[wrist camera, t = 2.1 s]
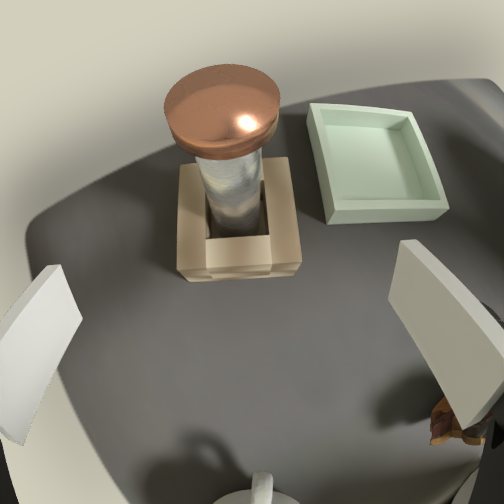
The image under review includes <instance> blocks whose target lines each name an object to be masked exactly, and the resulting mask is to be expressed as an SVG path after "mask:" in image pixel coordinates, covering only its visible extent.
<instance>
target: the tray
mask: <svg viewBox="0 0 504 504" xmlns="http://www.w3.org/2000/svg"><path fill="white" fill-rule="evenodd" d="M306 125H307V129H308V133H309V138H310V142H311V146H312V151H313V156H314V160H315V165H316V170H317V175H318V180H319V185H320V190H321V195H322V201H323V206H324V212H325V218H326V224H327V225H332V224H353V223H377V222H405V221H435V220H436V219H437V218H438V217H440V216H441V215H442V214H443V213H445V212H446V211H447V210H448V209H450V208H449V205H448V202H447V199H446V196H445V193H444V190H443V187H442V184H441V181H440V178H439V175H438V173H437V170H436V167H435V165H434V162H433V160H432V157H431V155H430V152H429V150H428V147H427V145H426V143H425V140H424V138H423V136H422V134H421V131H420V129H419V127H418V125H417V123H416V121H415V119H414V117H413V114H412V112H406V111H399V110H392V109H384V108H375V107H365V106H354V105H340V104H320V103H310V106H309V110H308V115H307V120H306Z"/></svg>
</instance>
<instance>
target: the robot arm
mask: <svg viewBox="0 0 504 504" xmlns="http://www.w3.org/2000/svg"><path fill="white" fill-rule="evenodd" d="M388 301H389V303H390V304H391V306H392V307H393V309H394V310H395V312H396V313H397V315H398V316H399V318H400V319H401V321H402V323H403V324H404V326H405V327H406V329H407V331H408V332H409V334H410V335H411V337H412V339H413V340H414V342H415V344H416V345H417V347H418V349H419V350H420V352H421V354H422V355H423V357H424V359H425V360H426V362H427V364H428V366H429V367H430V369H431V371H432V373H433V374H434V376H435V378H436V380H437V381H438V383H439V385H440V387H441V389H442V391H443V392H444V394H445V396H446V398H447V400H448V402H449V404H450V406H451V408H452V410H453V412H454V414H455V416H456V418H457V420H458V422H459V424H460V426H461V428H462V430H464V429H466V428H468V427H470V426H472V425H474V424H476V423H477V422H479V421H481V419H482V418H483V417H484V416H485V415H486V414H487V413H488V411H489V410H491V412H492V414H493V416H492V417H491V418H490V419H489V420H488V421H487V422H486V423H485V425H484V426H483V427H482V428H481V429H480V430H479V431H478V433H477V437H479V436H480V435H481V434H482V433H483V432H484V431H485V430H486V429H487V432H486V433H485V435H484V436H483V438H485V444H484V449H483V453H482V458H481V462H480V466H479V470H478V473H477V477H476V481H475V484H474V487H473V490H472V494H471V497H470V499H469V502H468V504H504V322H503V321H502V322H501V319H500V318H499V316H498V315H497V314H496V313H495V312H494V311H493V310H492V309H491V308H490V307H488V306H487V305H485V304H484V303H482V302H481V301H478V300H477V299H476V297H475V296H474V295H473V294H472V293H471V292H470V291H469V290H468V289H467V288H466V287H465V286H464V285H463V284H462V283H461V282H460V281H459V280H458V279H457V278H456V277H455V276H454V275H453V274H452V273H451V272H450V271H449V270H448V269H447V268H446V267H445V266H444V265H443V264H442V263H441V262H440V261H439V260H438V259H437V258H436V257H435V256H434V255H433V254H432V253H431V252H429V251H428V250H427V249H426V248H425V247H424V246H423V245H422V244H421V243H420V242H419V241H417V240H416V239H414V240H400V244H399V250H398V255H397V260H396V265H395V270H394V275H393V279H392V284H391V288H390V292H389V296H388ZM82 319H83V318H82V316H81V314H80V312H79V310H78V307H77V305H76V303H75V300H74V298H73V296H72V293H71V291H70V288H69V286H68V283H67V281H66V278H65V275H64V273H63V270H62V267H61V265H47V266H46V267H45V268H44V269H43V271H42V272H41V273H40V274H39V275H38V276H37V277H36V278H35V279H34V281H33V282H32V283H31V284H30V285H29V286H28V287H27V289H26V290H25V291H24V292H23V293H22V294H21V296H20V297H19V298H18V299H17V301H16V302H15V303H14V304H13V305H12V307H11V308H10V309H9V310H8V312H7V313H6V314H5V315H4V317H3V318H2V320H1V321H0V432H1V433H2V434H3V435H4V436H5V437H6V438H7V439H8V440H10V441H12V442H15V443H17V444H20V445H22V446H23V445H24V442H25V440H26V437H27V434H28V432H29V429H30V427H31V424H32V422H33V419H34V416H35V414H36V412H37V409H38V407H39V405H40V403H41V400H42V398H43V396H44V393H45V391H46V389H47V387H48V385H49V382H50V380H51V378H52V376H53V374H54V372H55V370H56V368H57V366H58V364H59V362H60V360H61V358H62V356H63V354H64V352H65V350H66V348H67V347H68V345H69V343H70V341H71V339H72V337H73V335H74V334H75V332H76V330H77V328H78V326H79V325H80V323H81V321H82ZM0 504H19V502H18V499H17V497H16V493H15V490H14V487H13V485H12V481H11V478H10V474H9V471H8V467H7V463H6V459H5V455H4V450H3V446H2V442H1V440H0Z"/></svg>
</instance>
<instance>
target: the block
mask: <svg viewBox="0 0 504 504" xmlns="http://www.w3.org/2000/svg"><path fill="white" fill-rule="evenodd" d="M301 263H302V256H301V247H300V239H299V231H298V224H297V216H296V209H295V202H294V195H293V188H292V181H291V175H290V168H289V162H288V157H275V158H261V183H260V212H259V230H258V233H257V235H256V236H247V237H232V238H221V237H220V235H219V233H218V230H217V226H216V223H215V220H214V217H213V214H212V211H211V207H210V204H209V201H208V198H207V195H206V191H205V188H204V185H203V182H202V178H201V175H200V172H199V168H198V165H197V163H191V164H182V165H180V175H179V194H178V220H177V270H178V271H179V272H180V273H181V274H182V275H183V276H184V277H185V278H186V279H187V280H188V281H189V282H202V281H220V280H236V279H251V278H266V277H280V276H293V275H295V273H296V271H297V270H298V268H299V266H300V264H301Z"/></svg>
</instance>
